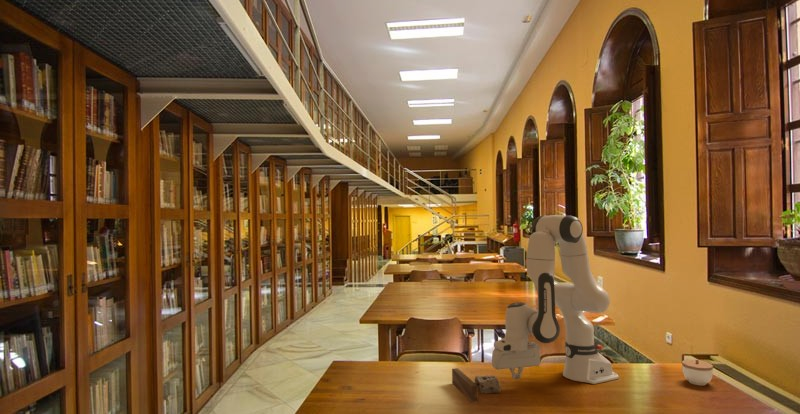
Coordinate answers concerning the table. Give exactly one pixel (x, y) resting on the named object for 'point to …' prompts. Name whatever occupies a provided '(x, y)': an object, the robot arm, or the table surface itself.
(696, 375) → the lidded jar
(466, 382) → the board
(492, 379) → the stone
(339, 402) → the table surface
